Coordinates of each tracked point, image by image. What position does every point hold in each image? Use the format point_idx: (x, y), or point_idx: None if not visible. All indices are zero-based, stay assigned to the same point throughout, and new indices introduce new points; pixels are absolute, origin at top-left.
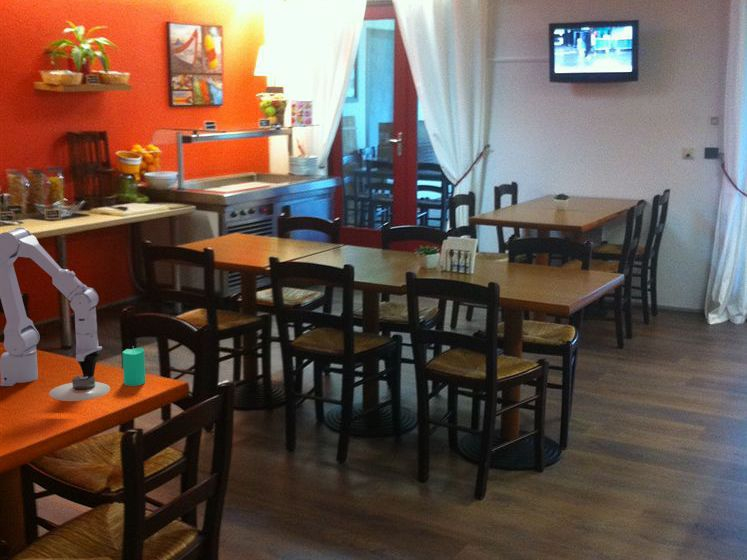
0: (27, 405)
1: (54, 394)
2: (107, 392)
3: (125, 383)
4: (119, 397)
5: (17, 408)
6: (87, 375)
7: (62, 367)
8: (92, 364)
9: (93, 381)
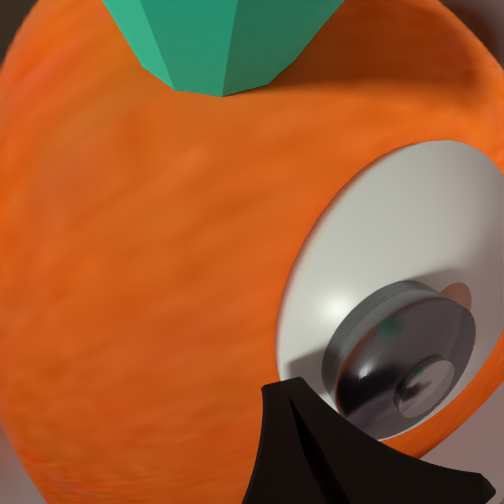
0: (474, 393)
1: (460, 383)
2: (464, 144)
3: (299, 50)
4: (435, 77)
5: (483, 394)
6: (355, 407)
7: (96, 496)
8: (411, 457)
9: (436, 298)
